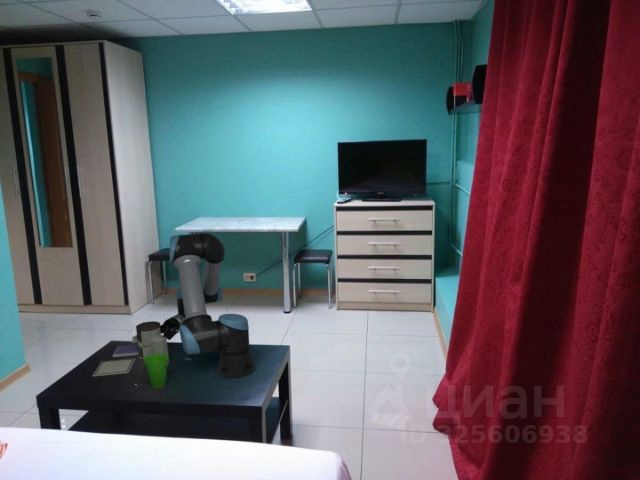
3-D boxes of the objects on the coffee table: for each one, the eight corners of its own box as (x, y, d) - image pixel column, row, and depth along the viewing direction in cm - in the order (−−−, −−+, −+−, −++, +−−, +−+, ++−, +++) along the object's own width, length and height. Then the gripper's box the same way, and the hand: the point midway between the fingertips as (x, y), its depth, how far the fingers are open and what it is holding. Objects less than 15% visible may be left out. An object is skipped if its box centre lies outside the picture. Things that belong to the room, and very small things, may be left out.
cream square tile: (128, 372, 191) (128, 371, 191) (92, 376, 188) (92, 375, 188) (135, 358, 204) (135, 358, 204) (101, 362, 202) (101, 361, 202)
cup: (141, 389, 176) (139, 362, 174) (153, 378, 185) (151, 353, 183) (164, 390, 175) (161, 363, 173) (174, 379, 184) (172, 353, 182)
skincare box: (169, 363, 198) (167, 337, 196) (164, 368, 194) (161, 341, 192) (156, 362, 200) (154, 336, 198) (150, 367, 195) (148, 340, 193)
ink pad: (138, 354, 209) (138, 352, 209) (112, 357, 207) (112, 354, 207) (143, 345, 220) (142, 343, 219) (118, 347, 218) (118, 345, 217)
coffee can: (133, 358, 205) (130, 328, 203) (148, 349, 215) (146, 320, 212) (153, 360, 202) (150, 330, 200) (167, 351, 212) (165, 322, 209)
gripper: (194, 334, 221) (164, 352, 200) (155, 329, 228) (122, 346, 207) (193, 319, 219) (163, 336, 199) (154, 315, 227) (121, 330, 206)
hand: (142, 341), depth 203 cm, fingers closed on coffee can, 10 cm apart
